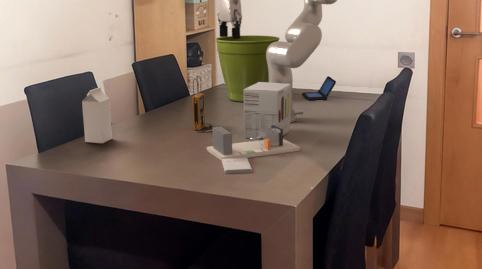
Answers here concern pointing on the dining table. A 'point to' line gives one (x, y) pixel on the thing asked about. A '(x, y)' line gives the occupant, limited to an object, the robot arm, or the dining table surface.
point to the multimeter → (198, 109)
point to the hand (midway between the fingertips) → (229, 37)
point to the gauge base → (243, 146)
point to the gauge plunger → (270, 136)
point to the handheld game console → (321, 91)
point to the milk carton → (97, 117)
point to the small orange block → (267, 143)
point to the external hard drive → (236, 165)
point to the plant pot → (243, 62)
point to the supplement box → (266, 107)
